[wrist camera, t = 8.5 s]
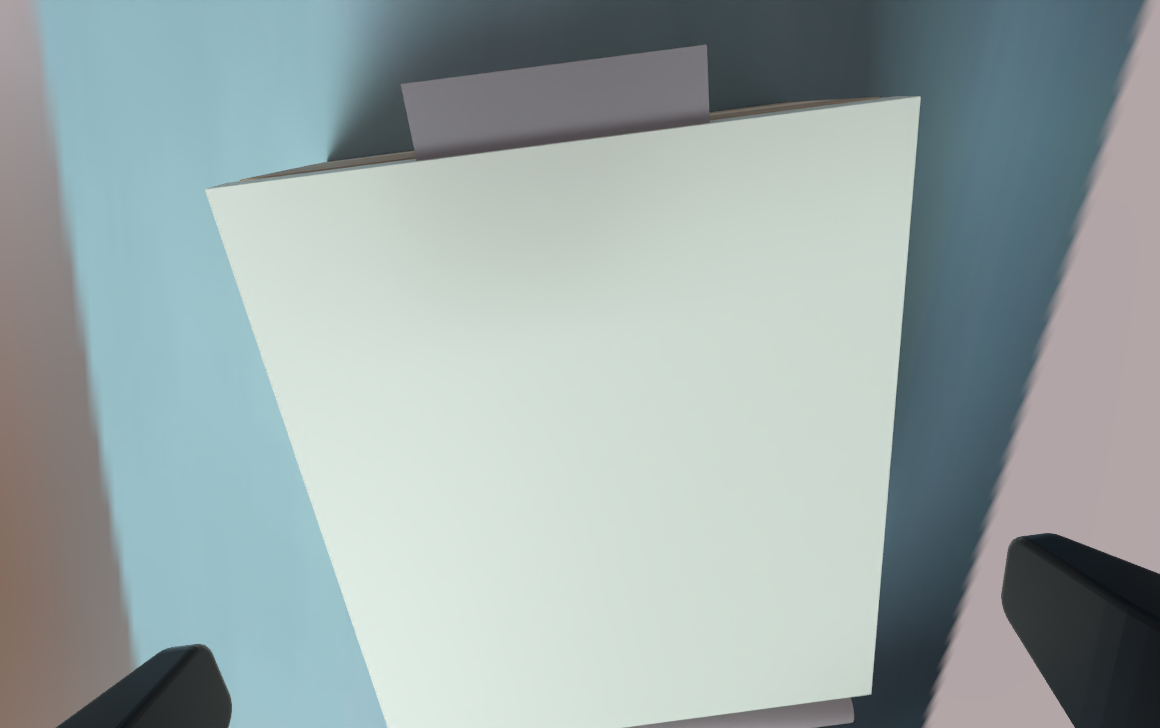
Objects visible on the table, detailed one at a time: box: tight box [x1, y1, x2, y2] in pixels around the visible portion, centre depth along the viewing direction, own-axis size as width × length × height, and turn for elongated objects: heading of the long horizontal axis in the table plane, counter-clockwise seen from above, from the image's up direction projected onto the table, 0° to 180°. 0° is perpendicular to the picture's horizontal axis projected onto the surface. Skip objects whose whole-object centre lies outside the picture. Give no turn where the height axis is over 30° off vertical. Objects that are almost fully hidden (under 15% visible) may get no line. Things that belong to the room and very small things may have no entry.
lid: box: [205, 45, 921, 728], centre depth 14 cm, size 16×12×1 cm
